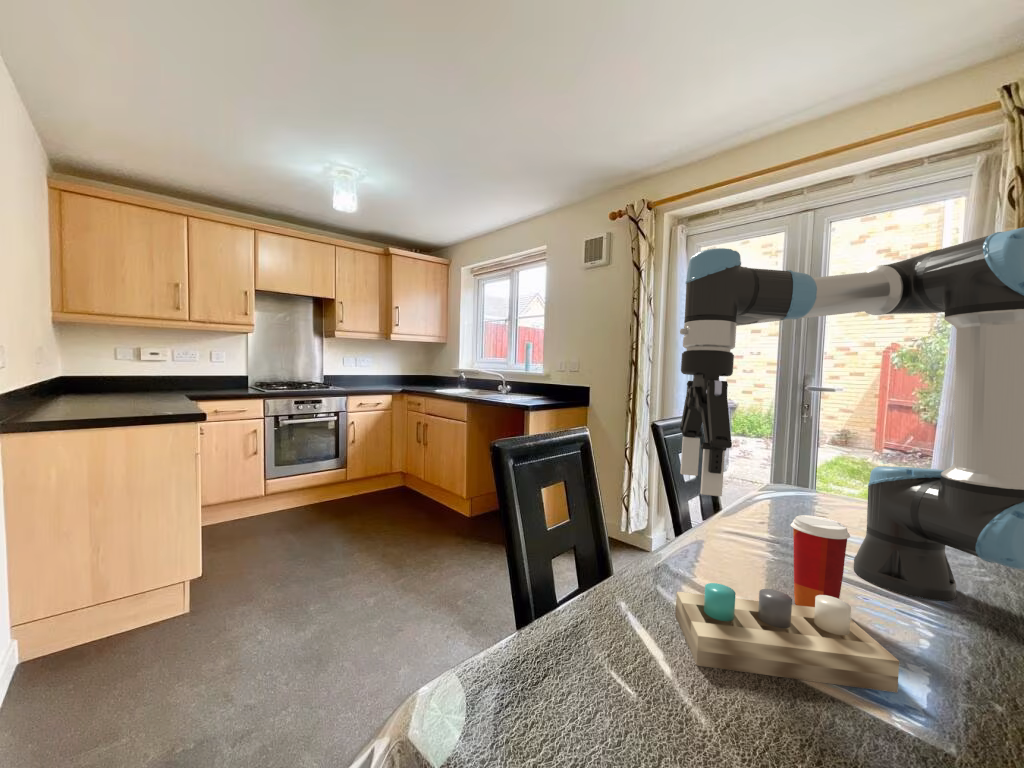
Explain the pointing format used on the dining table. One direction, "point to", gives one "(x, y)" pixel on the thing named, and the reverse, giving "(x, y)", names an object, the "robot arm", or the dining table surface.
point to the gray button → (775, 608)
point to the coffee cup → (818, 558)
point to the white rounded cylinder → (832, 614)
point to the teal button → (719, 602)
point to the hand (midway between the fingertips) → (698, 484)
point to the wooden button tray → (785, 646)
